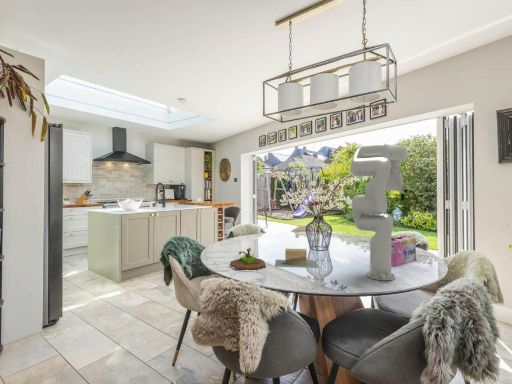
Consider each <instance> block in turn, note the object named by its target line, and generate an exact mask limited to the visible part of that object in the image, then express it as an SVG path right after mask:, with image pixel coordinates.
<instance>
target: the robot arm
mask: <svg viewBox="0 0 512 384" xmlns="http://www.w3.org/2000/svg"><path fill="white" fill-rule="evenodd" d="M408 156H409V151H408V149H407V147H406V146H404V145H395V144H387V143H384V142H379V141H378V142H377V141H376V142H369V143H362V144H359V146H358V147H356V150H355V152H354V154H353V157H352V158H351V162H350V166H349V167H350V173H351V175H352V176H355V177H372V178H371V179H370V180H368V182H367V183H366V185H365V187H364V192H365V193H362V194H361V193H360V194H355V195H354V196H353V197H352V198H351V199H352V200H351V211H352V215H353V220H354V224H355V228H356V229H357V230H359V231H364V232H373V233H374V235H372V237H371V238H370V240H369V270H368V271H367V272H366V276H367V277H368V278H370V279H373V280H377V281H384V282H385V281H387V282H388V281H393V280H395V276H396V275H395V274H394V273H392V266H391V239H392V234H393V227H394V218H393V216H392V215H391V214H389V213H386V212H387V210H388V200H387V194H386V192H389V191H393V192H395V191H398V192H400V193H401V194H400V201H401V202H404V200H406V198H405V197H406V195H405V194H406V193H408V192H409V190H410V188H411V186H410V185H409V184H406V183H404V179H403V173H401V165H402V164H401V162H405V161H406V160H407V159H408ZM404 187H405V189H404Z"/></svg>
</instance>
